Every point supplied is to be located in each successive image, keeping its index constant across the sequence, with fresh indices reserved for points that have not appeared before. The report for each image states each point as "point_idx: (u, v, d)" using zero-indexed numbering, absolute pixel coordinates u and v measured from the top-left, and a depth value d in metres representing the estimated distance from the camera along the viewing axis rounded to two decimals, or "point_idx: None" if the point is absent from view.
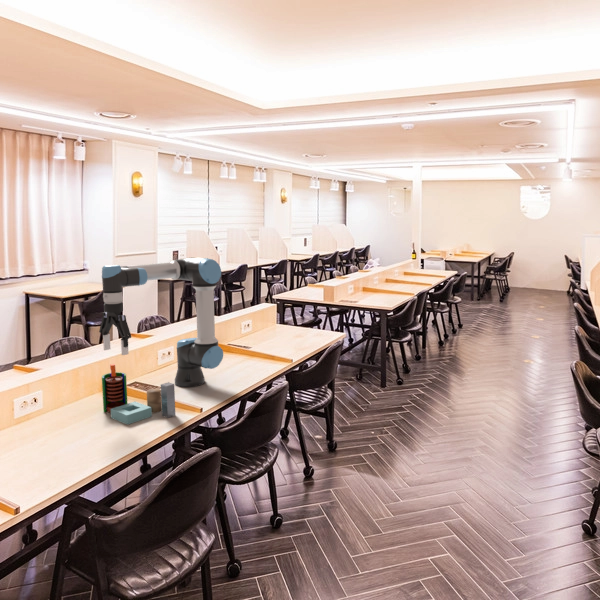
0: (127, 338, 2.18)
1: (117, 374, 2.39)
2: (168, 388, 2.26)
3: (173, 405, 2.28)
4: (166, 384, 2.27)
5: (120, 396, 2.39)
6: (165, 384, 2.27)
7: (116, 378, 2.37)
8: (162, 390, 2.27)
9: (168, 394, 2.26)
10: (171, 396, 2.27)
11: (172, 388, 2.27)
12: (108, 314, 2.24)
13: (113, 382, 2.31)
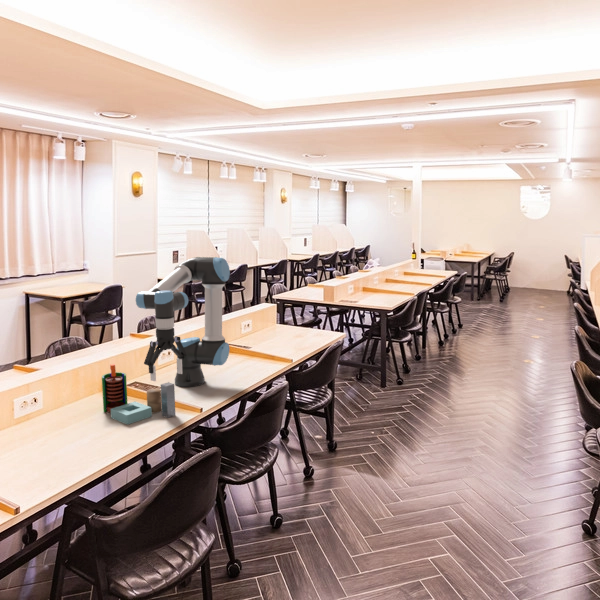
0: (145, 364, 2.19)
1: (117, 374, 2.39)
2: (168, 388, 2.26)
3: (173, 405, 2.28)
4: (166, 384, 2.27)
5: (120, 396, 2.39)
6: (165, 384, 2.27)
7: (116, 378, 2.37)
8: (162, 390, 2.27)
9: (168, 394, 2.26)
10: (171, 396, 2.27)
11: (172, 388, 2.27)
12: None
13: (113, 382, 2.31)
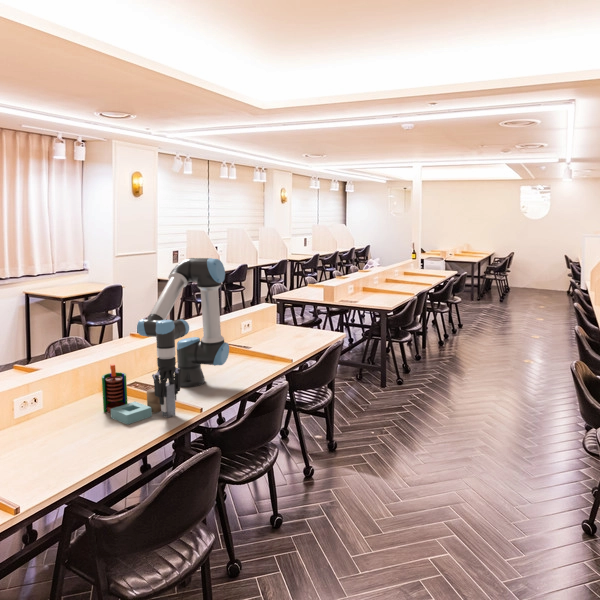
0: None
1: (117, 374, 2.39)
2: (168, 388, 2.26)
3: (173, 405, 2.28)
4: (166, 384, 2.27)
5: (120, 396, 2.39)
6: None
7: (116, 378, 2.37)
8: None
9: (168, 394, 2.26)
10: (171, 396, 2.27)
11: (172, 388, 2.27)
12: None
13: (113, 382, 2.32)
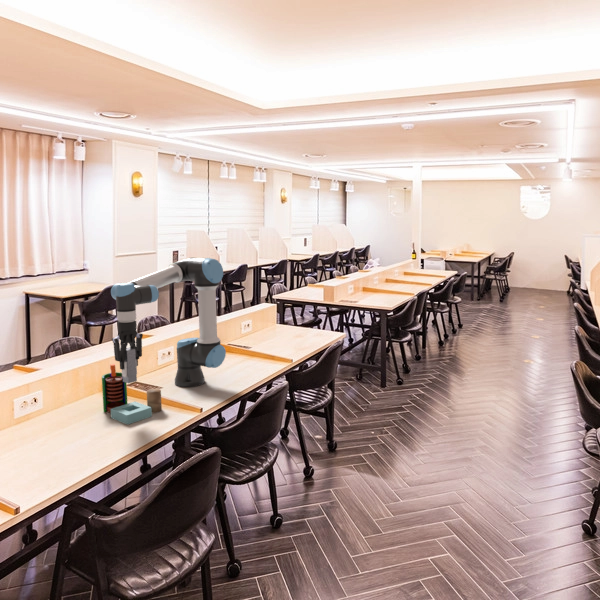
0: (116, 360, 2.20)
1: (117, 374, 2.39)
2: (129, 352, 2.22)
3: (134, 370, 2.24)
4: (127, 349, 2.23)
5: (120, 396, 2.39)
6: (126, 349, 2.23)
7: (116, 378, 2.37)
8: None
9: (128, 359, 2.22)
10: (132, 361, 2.23)
11: (133, 353, 2.23)
12: None
13: (113, 382, 2.32)
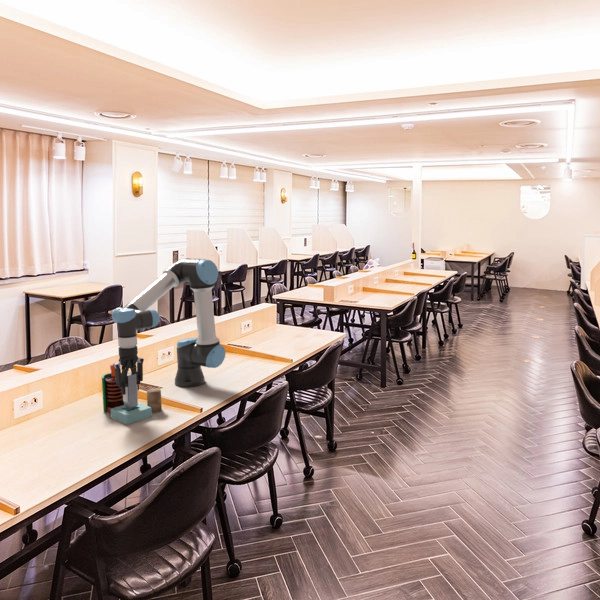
0: None
1: None
2: (130, 378, 2.23)
3: (135, 395, 2.26)
4: (128, 374, 2.25)
5: (120, 396, 2.39)
6: (127, 374, 2.25)
7: None
8: None
9: (129, 384, 2.23)
10: (133, 386, 2.25)
11: (134, 378, 2.25)
12: None
13: (113, 382, 2.32)
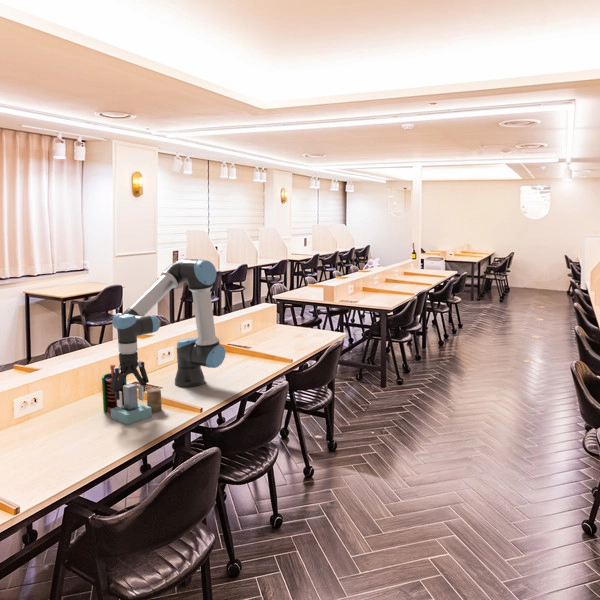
0: None
1: None
2: (130, 389, 2.24)
3: (136, 406, 2.27)
4: (128, 385, 2.25)
5: None
6: (127, 385, 2.26)
7: None
8: (124, 391, 2.25)
9: (130, 396, 2.24)
10: (134, 397, 2.26)
11: (134, 389, 2.26)
12: None
13: None
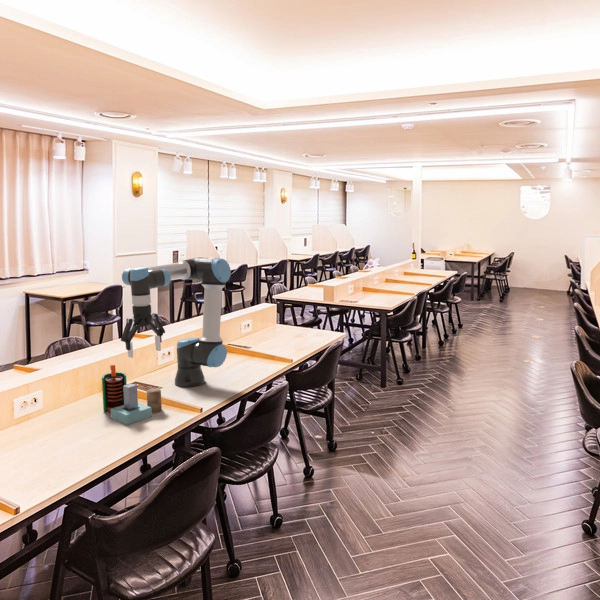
0: None
1: (117, 374, 2.39)
2: (130, 389, 2.24)
3: (136, 407, 2.27)
4: (129, 385, 2.26)
5: (120, 396, 2.39)
6: (128, 385, 2.26)
7: (116, 378, 2.37)
8: (124, 391, 2.25)
9: (130, 396, 2.24)
10: (134, 397, 2.26)
11: (135, 389, 2.26)
12: None
13: (113, 382, 2.32)
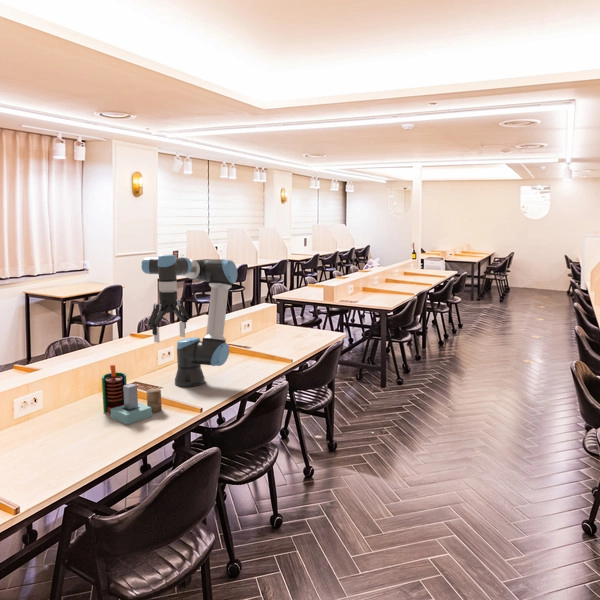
0: None
1: (117, 374, 2.39)
2: (130, 389, 2.24)
3: (136, 407, 2.27)
4: (129, 385, 2.26)
5: (120, 396, 2.39)
6: (128, 385, 2.26)
7: (116, 378, 2.37)
8: (125, 391, 2.25)
9: (130, 396, 2.24)
10: (134, 397, 2.26)
11: (135, 389, 2.26)
12: None
13: (113, 382, 2.32)
